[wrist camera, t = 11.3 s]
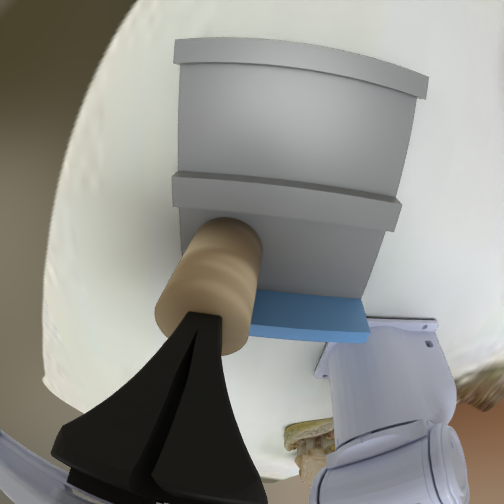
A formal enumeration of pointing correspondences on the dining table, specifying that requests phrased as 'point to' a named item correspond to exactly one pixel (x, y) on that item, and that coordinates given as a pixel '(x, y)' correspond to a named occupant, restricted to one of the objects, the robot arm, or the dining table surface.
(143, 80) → the dining table surface
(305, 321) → the board
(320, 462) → the ceramic model
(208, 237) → the wooden plug
